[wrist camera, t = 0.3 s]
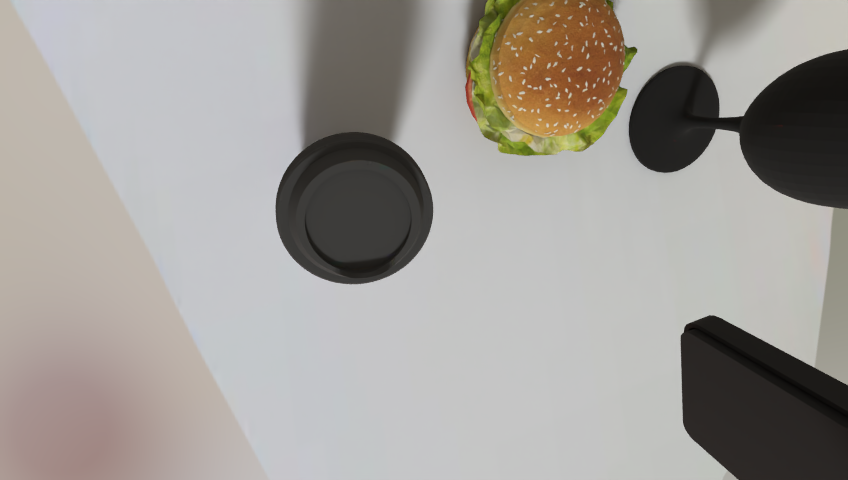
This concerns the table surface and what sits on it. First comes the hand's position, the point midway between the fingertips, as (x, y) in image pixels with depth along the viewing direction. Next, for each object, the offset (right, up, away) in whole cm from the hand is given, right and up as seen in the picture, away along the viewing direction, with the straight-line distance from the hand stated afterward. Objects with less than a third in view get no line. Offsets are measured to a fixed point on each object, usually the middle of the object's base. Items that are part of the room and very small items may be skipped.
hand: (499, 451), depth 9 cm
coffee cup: (-9, +10, +28) cm, 31 cm away
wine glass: (+23, +16, +34) cm, 44 cm away
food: (+7, +19, +29) cm, 36 cm away
